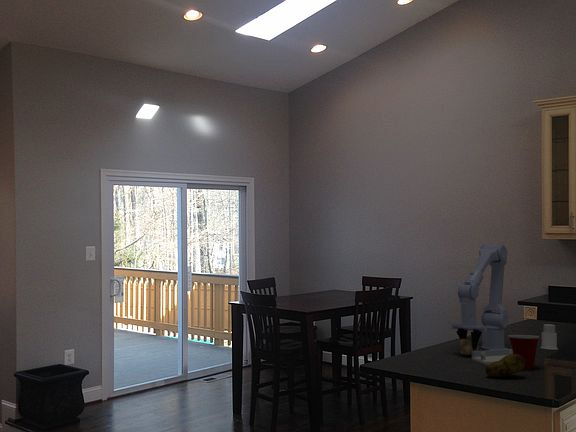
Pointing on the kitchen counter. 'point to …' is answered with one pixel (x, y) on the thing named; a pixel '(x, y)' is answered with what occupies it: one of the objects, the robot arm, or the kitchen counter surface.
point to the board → (490, 360)
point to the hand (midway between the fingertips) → (469, 348)
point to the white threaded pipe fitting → (549, 337)
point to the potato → (506, 366)
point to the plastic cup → (525, 348)
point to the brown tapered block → (467, 346)
